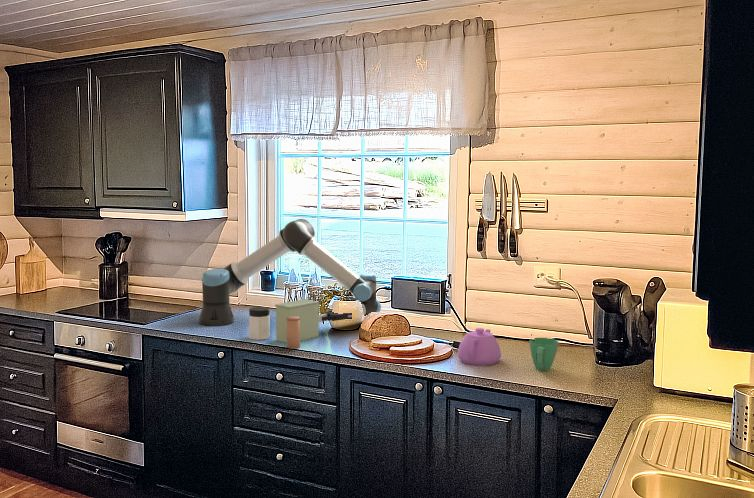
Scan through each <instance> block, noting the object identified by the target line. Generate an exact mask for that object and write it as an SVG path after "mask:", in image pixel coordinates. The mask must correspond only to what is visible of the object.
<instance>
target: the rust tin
mask: <svg viewBox="0 0 754 498" xmlns="http://www.w3.org/2000/svg"><path fill="white" fill-rule="evenodd" d="M300 347H301V341H300V317H297V316H290V317H287V343H286V349H289V350H290V349H292V350H294V349H299V348H300Z"/></svg>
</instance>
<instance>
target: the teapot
mask: <svg viewBox="0 0 754 498" xmlns="http://www.w3.org/2000/svg"><path fill="white" fill-rule="evenodd" d="M457 356H458V358H459V360H460V361H461V362H462V363H464V364H467V365H471V366H479V367H480V366H481V367H483V366H484V367H485V366H486V367H487V365H488V366H493V365H495V363H496V364H497V363H498V362H499V361H500V359H501V358H502V352H501V347H500V345H499V342H498V340H497V339H496V337H495V336H494V335H493V333H492V332H491V329H485V328H483V327H476V328H475V331H474V330H473V331H469V332H467V333H466V334H465V335H464V337H463V338H462V340H461V341H460V343H459V346H458V349H457Z"/></svg>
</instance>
